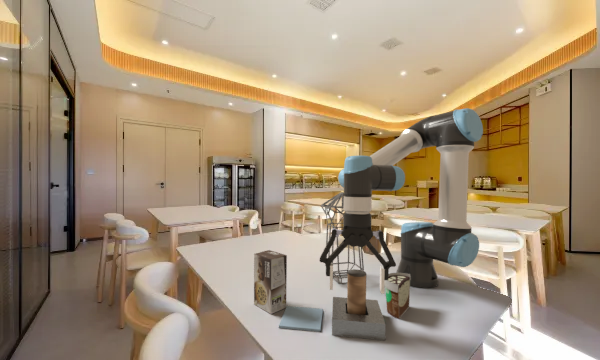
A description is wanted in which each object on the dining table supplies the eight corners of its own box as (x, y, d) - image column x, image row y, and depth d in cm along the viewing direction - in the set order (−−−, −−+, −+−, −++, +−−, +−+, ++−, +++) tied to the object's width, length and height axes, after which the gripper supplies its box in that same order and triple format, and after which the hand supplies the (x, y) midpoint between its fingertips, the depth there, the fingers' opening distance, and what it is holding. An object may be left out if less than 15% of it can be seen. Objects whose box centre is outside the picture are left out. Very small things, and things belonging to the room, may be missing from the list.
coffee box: (287, 307, 79) (287, 255, 79) (270, 314, 75) (271, 259, 75) (269, 297, 86) (269, 249, 86) (252, 304, 81) (253, 252, 81)
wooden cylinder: (364, 319, 72) (365, 270, 73) (366, 329, 68) (367, 276, 68) (346, 318, 73) (347, 268, 73) (347, 327, 68) (347, 275, 68)
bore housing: (377, 313, 76) (377, 300, 76) (385, 340, 63) (385, 324, 63) (332, 310, 78) (333, 296, 78) (331, 335, 65) (332, 319, 65)
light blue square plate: (322, 310, 77) (322, 308, 77) (320, 331, 66) (320, 329, 66) (286, 307, 79) (286, 305, 79) (278, 327, 68) (278, 325, 68)
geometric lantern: (331, 288, 94) (330, 192, 95) (320, 274, 109) (319, 192, 110) (371, 285, 97) (370, 192, 98) (355, 271, 112) (353, 191, 113)
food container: (391, 299, 85) (391, 269, 85) (410, 305, 81) (410, 273, 81) (376, 314, 76) (376, 280, 76) (397, 321, 72) (397, 285, 72)
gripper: (401, 212, 73) (400, 287, 72) (313, 209, 76) (312, 281, 76) (408, 215, 65) (407, 299, 65) (310, 212, 69) (309, 291, 69)
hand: (356, 289), depth 70 cm, fingers open, 13 cm apart
